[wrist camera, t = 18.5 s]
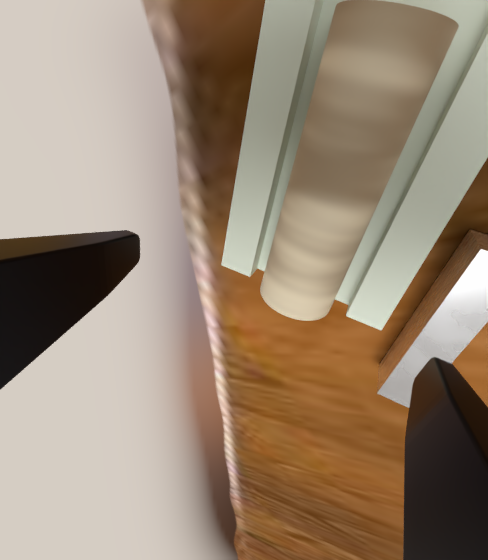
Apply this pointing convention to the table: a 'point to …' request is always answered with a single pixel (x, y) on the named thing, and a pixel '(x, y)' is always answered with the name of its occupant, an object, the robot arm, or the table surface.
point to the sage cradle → (409, 168)
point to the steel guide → (440, 319)
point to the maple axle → (350, 145)
